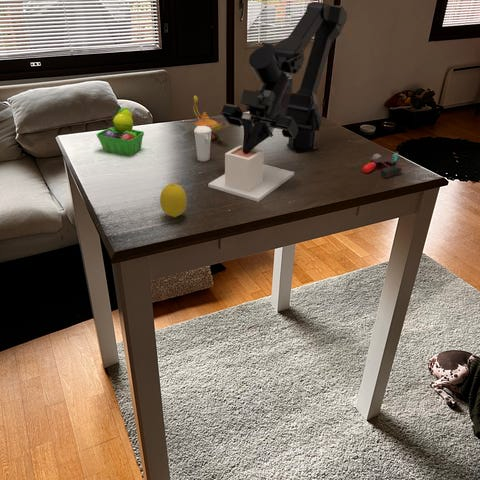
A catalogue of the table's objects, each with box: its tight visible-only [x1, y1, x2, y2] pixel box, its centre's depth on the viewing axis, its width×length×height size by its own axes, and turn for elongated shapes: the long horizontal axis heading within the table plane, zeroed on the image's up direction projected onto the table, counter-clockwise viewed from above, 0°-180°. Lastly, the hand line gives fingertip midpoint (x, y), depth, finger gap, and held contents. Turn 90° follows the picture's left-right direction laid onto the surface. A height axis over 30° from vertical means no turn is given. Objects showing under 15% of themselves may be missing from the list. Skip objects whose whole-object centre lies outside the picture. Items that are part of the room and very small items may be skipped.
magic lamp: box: [193, 95, 229, 140], centre depth 141 cm, size 7×18×11 cm, turn 36°
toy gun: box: [361, 152, 403, 179], centre depth 125 cm, size 10×12×5 cm
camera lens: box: [273, 73, 294, 119], centre depth 153 cm, size 8×8×15 cm
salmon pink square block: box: [234, 149, 256, 158], centre depth 112 cm, size 4×4×3 cm
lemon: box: [159, 182, 188, 219], centre depth 100 cm, size 6×6×8 cm
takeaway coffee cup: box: [193, 125, 214, 162], centre depth 127 cm, size 4×5×10 cm
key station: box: [207, 144, 295, 203], centre depth 116 cm, size 18×14×9 cm
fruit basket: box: [95, 107, 145, 157], centre depth 132 cm, size 11×9×11 cm
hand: (244, 152), depth 111 cm, fingers closed, pressing on salmon pink square block
